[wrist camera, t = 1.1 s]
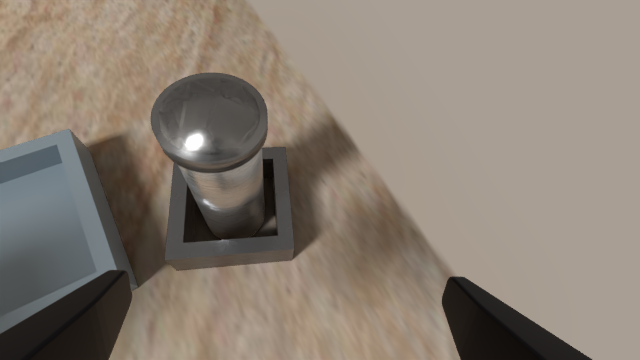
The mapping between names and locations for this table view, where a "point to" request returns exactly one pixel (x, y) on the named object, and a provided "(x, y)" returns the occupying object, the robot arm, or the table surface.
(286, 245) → the grey square tray
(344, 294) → the table surface
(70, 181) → the parts tray
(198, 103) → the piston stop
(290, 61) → the table surface
